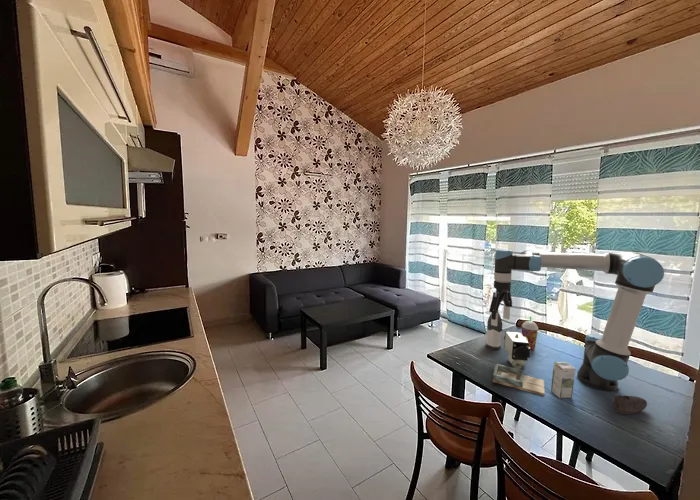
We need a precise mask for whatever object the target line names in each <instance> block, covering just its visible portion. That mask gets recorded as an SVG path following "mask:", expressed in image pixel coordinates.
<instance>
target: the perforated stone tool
mask: <svg viewBox="0 0 700 500" xmlns="http://www.w3.org/2000/svg"><path fill="white" fill-rule="evenodd" d="M613 397H614V398H613V399H614V400H613V401H612V404H613V405H614V406H613V407H614V410H615V412H617V414H619V415H632V414H636V413H640V412H643V411H644V410H645V409H646V408H647V406H648V402H647V400H646V399H645V398H642V397H639V396H635V395H625V394H624V395H615V396H613Z"/></svg>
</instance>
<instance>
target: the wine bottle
mask: <svg viewBox="0 0 700 500" xmlns="http://www.w3.org/2000/svg"><path fill="white" fill-rule="evenodd" d="M497 313H498V322H497V326H493V325H491V314H492V312H490V314H489V316H488V319H487V323H486V324H487V325H486V326H487V327H486V338H485V339H486V342H485V343H486V344H485V345H486V347H487V348H488V349H492V350H499V349H500V350H501V348H502V337H503V336H502V335H503V333H502V332H503V321H502V317H501V315H500V313H499V310H498V311H497Z"/></svg>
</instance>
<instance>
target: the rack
mask: <svg viewBox="0 0 700 500" xmlns="http://www.w3.org/2000/svg"><path fill="white" fill-rule="evenodd" d="M524 374H525V370H523V369H521V368H520V369H516V368H514V367H513V366H508V365H503V364H499V363H495V367H494V370H493V374H492V375H493V376H492V383H496V384H499V385H503V386H506V387H510V388H514V389H518V390H522V391H525V392H529V393H531V394H535V395H540V396H543V397H545V392H546V390H545V380H544V379H541V378H537V377H533V376H529V375H524Z"/></svg>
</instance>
